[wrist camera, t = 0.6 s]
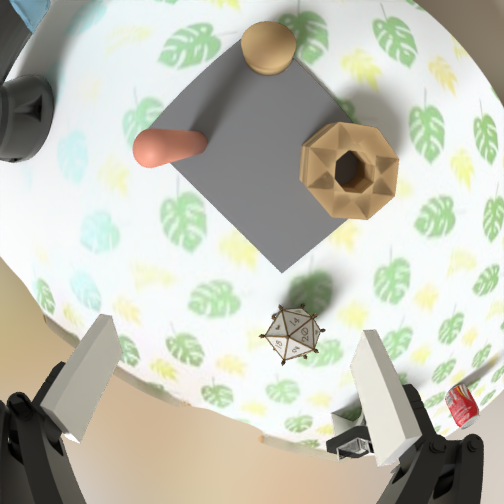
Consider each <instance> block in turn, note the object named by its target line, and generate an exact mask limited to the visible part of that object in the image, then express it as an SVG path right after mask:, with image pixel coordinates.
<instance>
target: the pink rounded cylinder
mask: <svg viewBox="0 0 504 504" xmlns="http://www.w3.org/2000/svg"><path fill="white" fill-rule="evenodd" d="M206 147H207V139H206V137H205V135H204V134H203V133H201V132H198V131H187V130H173V129H153V128H152V129H146V130H144V131H142V132H141V133H140V134H139V135H138V136H137V137H136V139H135V141H134V144H133V155H134V158H135V160H136V161H137V162H138V163H139V164H140V165H141V166H143V167H146V168H154V167H157V166H161V165H164V164H167V163H171V162H174V161H177V160H181V159H184V158H188V157H192V156H195V155H199V154H201V153H203V152H204V151H205V149H206Z"/></svg>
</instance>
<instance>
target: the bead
mask: <svg viewBox="0 0 504 504" xmlns="http://www.w3.org/2000/svg"><path fill="white" fill-rule="evenodd" d="M348 150H349V151H350V152H351V153H352V155H353V156H354V157H355V158H356V160H357V170H356V175H355V176H354V177H353V178H352V179H351V180H350V181H349V182H347V183H346V184H340V183H337V181H336V180H335V179H334V178H335V165H336V161H337V160H338V159H339V158H340V157H341V156H342V155H344V154H345V153H346V152H347V151H348ZM398 165H399V158H398V157H397V155H396V154H395V152H394V151H393V149H392V148H391V147H390V145H389V144H388V142H387V141H386V139H385V138H384V137H383V135H382V134H381V133H380V131H379V130H378V129H377V128H375V127H370V126H364V125H358V124H351V123H344V122H336V123H331V124H326V125H325V126H324V127H322V128H321V129H320V130H319V131H318V132H317V133H315V134H314V135H313V136H312V137H311V138H310V139H308V140H307V141H306V142H305V143H304V144H303V145H301V157H300V176H299V180H300V181H301V182H302V183H303V184H304V185H305V186H306V188H307V189H308V190H309V191H310V192H311V193H312V195H313V196H314V197H315V198H316V199H317V200H318V201H319V203H320V204H321V205H322V206H323V207H324V209H325V210H326V211H327V212H328V213H329V215H330V216H331V217H334V218H349V219H362V220H368V219H369V218H371V217H372V216H373V215H374V214H375V213H376V212H378V211H379V210H380V209H381V208H382V207H383V206H384V205H386V204H387V203H388V202H389V201H390V200H391V199H392V198H393V197H395V191H396V183H397V175H398Z"/></svg>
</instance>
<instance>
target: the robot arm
mask: <svg viewBox="0 0 504 504" xmlns="http://www.w3.org/2000/svg"><path fill="white" fill-rule="evenodd" d="M49 7H50V0H0V160H2V161H6V162H11V163H17V162H22V161H26V160H28V159H30V158H32V157H33V156H34V155H35V154H36V153H37V152H38V151H39V150H40V148H41V147H42V145H43V143H44V142H45V139H46V137H47V135H48V132H49V129H50V125H51V121H52V115H53V95H52V90H51V87H50V85H49V83H48V82H47V80H46V79H45V78H43V77H41V76H38V75H24V76H21V77H18V78H15V79H12V80H9V81H7V82H4V81H5V79H6V77H7V75H8V74H9V72H10V70H11V68H12V66H13V64H14V63H15V61H16V59H17V57H18V56H19V54H20V52H21V51H22V49H23V48H24V46H25V44H26V43H27V41H28V40H29V38H30V37H31V35H32V34H34V33H35V29H36V27H37V26H38V24H39V23H40V21H41V20H42V18H43V17H44V15H45V14H46V13H47V11H48V9H49ZM122 354H123V350H122V347H121V344H120V341H119V338H118V335H117V332H116V329H115V325H114V322H113V319H112V316H110V315H104V314H100V315H99V316H98V318H97V319H96V320H95V322H94V323H93V325H92V326H91V327H90V329H89V330H88V332H87V333H86V334H85V336H84V337H83V339H82V340H81V342H80V343H79V344H78V346H77V347H76V349H75V350H74V352H73V353H72V355H71V356H70V358H69V359H68V361H67V362H66V363H64V362H62V361H61V362H60V363H59V364H57V365H56V366H55V367H54V368H53V369H52V371H51V372H50V374H49V376H48V377H47V378H46V380H45V382H44V383H43V385H42V386H41V388H40V389H39V391H38V393H37V394H36V396H35V397H34V399H33V401H32V402H31V401H30V399H29V398H28V397H27V396H26V395H25V394H24V393H22V392H16V393H13V394H12V395H11V396H10V397H9V398H8V400H7V405H5V404H4V403H3V402H2V401H1V400H0V504H86V502H85V499H84V497H83V495H82V493H81V490H80V488H79V486H78V483H77V481H76V478H75V476H74V473H73V471H72V468H71V465H70V463H69V459H68V456H67V453H66V450H65V447H64V444H63V440H62V438H61V437H60V436H61V434H62V433H64V435H65V436H66V437H67V438H68V439H71V440H73V441H76V442H78V443H81V440H82V438H83V436H84V433H85V431H86V429H87V426H88V424H89V422H90V420H91V418H92V415H93V413H94V411H95V409H96V407H97V405H98V402H99V400H100V398H101V396H102V394H103V392H104V390H105V388H106V386H107V384H108V382H109V380H110V378H111V376H112V374H113V372H114V370H115V368H116V366H117V364H118V362H119V360H120V358H121V356H122ZM350 369H351V372H352V375H353V378H354V382H355V385H356V388H357V391H358V395H359V398H360V402H361V405H362V409H363V412H364V416H365V419H366V423H367V426H368V430H369V434H370V438H371V441H372V445H373V449H374V453H375V457H376V461H377V465H378V467H381V466H385V465H389V464H393V463H394V462H395V461H396V460H397V459H398V458H399V461H400V464H399V465H398V466H397V467H396V468H395V469H393V470H392V472H391V473H394V472H395V473H394V475H393V476H392V478H391V480H390V482H389V484H388V485H387V487H386V489H385V491H384V492H383V494H382V496H381V497H380V499H379V501H378V502H377V503H376V504H480V500H481V492H482V481H483V462H484V461H483V460H484V445H483V441H482V439H481V438H480V437H479V436H478V435H476V434H469V435H468V436H466V437H465V438H464V439H463V440H446V439H445V437H443V436H441V435H437V434H436V432H435V430H434V428H433V425H432V423H431V420H430V418H429V416H428V413H427V411H426V409H425V408H424V404H423V402H422V401H421V397H420V395H419V393H418V391H417V390H416V389H415V388H414V387H413V386H412V385H411V384H406V385H402V384H401V382H400V380H399V377H398V375H397V373H396V371H395V368H394V366H393V364H392V362H391V360H390V358H389V355H388V353H387V351H386V349H385V347H384V345H383V343H382V341H381V339H380V337H379V335H378V333H377V331H376V330H363V332H362V335H361V338H360V340H359V343H358V346H357V349H356V352H355V354H354V357H353V359H352V362H351V365H350ZM8 438H9V442H8Z"/></svg>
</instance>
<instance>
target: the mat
mask: <svg viewBox="0 0 504 504" xmlns="http://www.w3.org/2000/svg"><path fill="white" fill-rule="evenodd" d="M336 122H344V123H351V124H354V123H353V122H352V120H351V119H350V118H349V117H348V116H347V114H346V113H345V112H344V111H343V110H342V109H341V107H340V106H339V105H338V104H337V103H336V102H335V101H334V99H333V98H332V97H331V96H330V95H329V94H328V93H327V92H326V91H325V90H324V89H323V88H322V86H321V85H320V84H319V83H318V82H317V81H316V80H315V79H314V78H313V77H312V76H311V75H310V74H309V73H308V72H307V71H306V70H305V69H304V68H303V67H302V66H301V65H300V64H299V63H298V62H297V61H295V60H294V59H293V58H292V60H291V63H290V65H289V67H288V68H287V69H286V70H285V71H284V72H282V73H280V74H278V75H274V76H263V75H259V74H257V73H255V72H253V71H252V70H251V69H250V68H249V67H248V66H247V64H246V62H245V58H244V54H243V50H242V46H241V40H239V41H238V42H237V43H236V44H234V45H233V46H232V47H231V48H229V49H228V50H227V51H226V52H225V53H223V54H222V55H221V56H220V57H219V58H218V59H216V60H215V61H214V62H213V63H212V64H211V65H210V66H209V67H207V68H206V69H205V70H204V71H203V72H202V73H201V74H200V75H199V76H198V77H197V78H196V79H195V80H194V81H193V82H192V83H191V84H189V85H188V86H187V87H186V88H185V89H184V90H183V91H182V92H181V93H180V94H179V96H178V97H177V98H176V99H175V100H174V101H173V102H172V103H171V104H170V105H169V106H168V107H167V108H166V109H165V110H164V111H163V113H162V114H161V115H160V116H159V117H158V118H157V119H156V120H155V122H154V123H153V124H152V125H151V126H150V127H149V128H148V129H152V128H153V129H173V130H187V131H198V132H201V133H203V134H204V135H205V137H206V139H207V147H206V149H205V151H204V152H203V153H201V154H199V155H195V156H192V157H188V158H184V159H181V160H177V161H174V162H171V164H172V165H173V166H174V167H175V168H176V169H177V170H178V171H179V172H180V173H181V174H182V175H183V176H184V177H185V178H186V179H187V180H188V181H189V182H190V183H191V184H192V185H193V186H194V187H195V188H196V189H197V190H198V191H199V192H200V193H201V194H202V195H203V196H204V197H205V198H206V199H207V200H208V201H209V202H210V203H211V204H212V205H213V206H214V207H215V208H216V209H217V210H218V211H219V212H220V213H221V214H222V215H223V216H224V217H225V218H226V219H227V220H228V221H229V222H230V223H232V224H233V225H234V226H235V227H236V228H237V229H238V230H239V231H240V232H241V233H242V234H243V235H244V236H245V237H246V238H247V239H248V240H249V241H250V242H251V243H252V244H253V245H254V246H255V247H256V248H257V249H258V250H259V251H260V252H261V253H262V254H263V255H264V256H265V257H266V258H267V259H268V260H269V261H270V262H271V263H272V264H273V265H274V266H275V267H276V268H277V269H278V270H279V271H280V272H281V273H283V272H284V271H285V270H287V269H288V268H289V267H290V266H292V265H293V264H294V263H295V262H297V261H298V260H299V259H300V258H302V257H303V256H304V255H305V254H306V253H308V252H309V251H310V250H311V249H313V248H314V247H315V246H316V245H317V244H319V243H320V242H321V241H322V240H323V239H325V238H326V237H327V236H328V235H330V234H331V233H332V232H333V231H334V230H335V229H337V228H338V227H339V226H340V225H341V224H343V223H344V222H345V221H346V220H347V219H349V218H334V217H331V216H330V215H329V213H328V212H327V211H326V210H325V209H324V207H323V206H322V205H321V204H320V203H319V201H318V200H317V199H316V198H315V197H314V196H313V195H312V193H311V192H310V191H309V190H308V189H307V188H306V186H305V185H304V184H303V183H302V182H301V181H300V180H299V176H300V157H301V145H303V144H304V143H305V142H306V141H307V140H308V139H310V138H311V137H312V136H313V135H314V134H315V133H317V132H318V131H319V130H320V129H321V128H322V127H324V126H325V125H326V124H331V123H336ZM356 170H357V160H356V158H355V157H354V156H353V155H352V153H351V152H350V151H349V150H348V151H347V152H346V153H345V154H344V155H342V156H341V157H340V158H339V159H338V160H337V161H336V165H335V178H334V179H335V180H336V181H337V183H340V184H346V183H347V182H349V181H350V180H351V179H352V178H353V177H354V176H355V175H356Z"/></svg>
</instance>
